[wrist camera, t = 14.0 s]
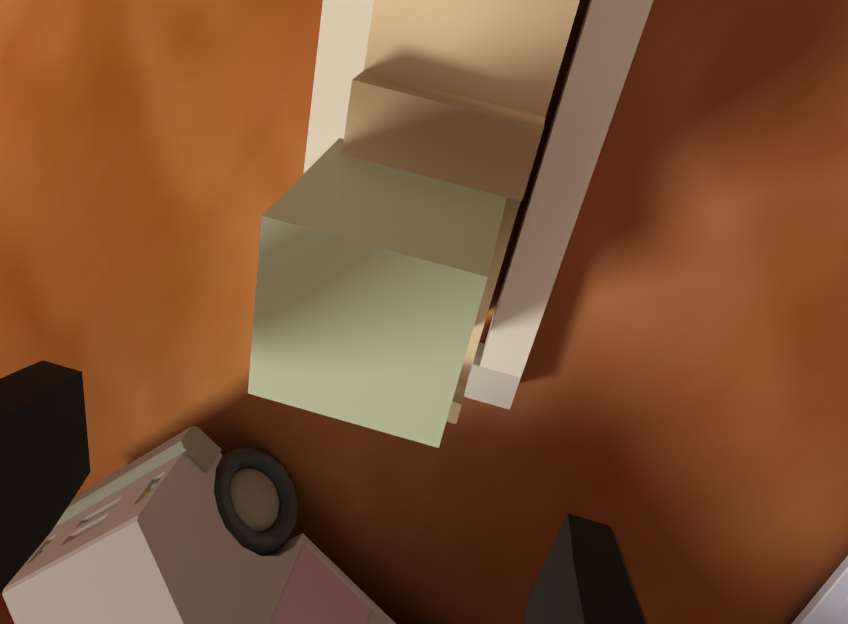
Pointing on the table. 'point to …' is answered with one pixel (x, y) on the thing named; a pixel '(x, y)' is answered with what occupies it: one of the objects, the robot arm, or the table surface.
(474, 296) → the block
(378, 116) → the tan stepped block
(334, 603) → the toy vehicle
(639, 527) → the table surface
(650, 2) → the jig
